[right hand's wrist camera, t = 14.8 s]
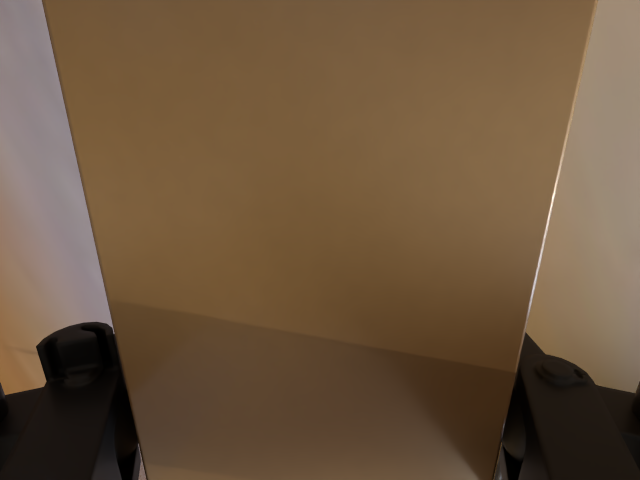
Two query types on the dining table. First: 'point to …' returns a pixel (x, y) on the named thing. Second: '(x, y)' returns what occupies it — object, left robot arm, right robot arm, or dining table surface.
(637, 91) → the dining table surface
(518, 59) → the box
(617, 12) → the dining table surface
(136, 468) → the right robot arm
